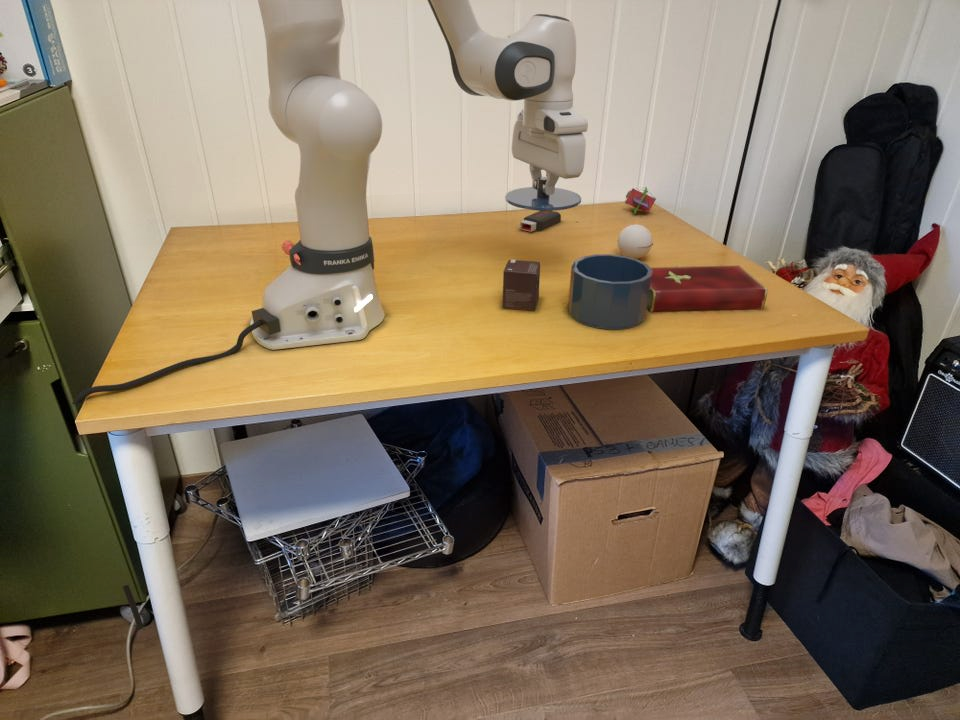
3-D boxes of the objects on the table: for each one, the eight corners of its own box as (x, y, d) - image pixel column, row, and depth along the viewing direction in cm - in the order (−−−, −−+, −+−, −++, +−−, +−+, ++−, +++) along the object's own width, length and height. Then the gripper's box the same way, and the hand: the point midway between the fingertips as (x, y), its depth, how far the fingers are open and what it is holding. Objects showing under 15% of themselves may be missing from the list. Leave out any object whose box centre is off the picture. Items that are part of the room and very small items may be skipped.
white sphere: (628, 266, 136) (632, 232, 132) (608, 254, 142) (612, 222, 138) (667, 260, 139) (672, 226, 136) (646, 248, 145) (651, 216, 141)
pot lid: (529, 218, 117) (530, 192, 115) (492, 197, 128) (492, 173, 126) (595, 207, 123) (598, 183, 120) (554, 189, 134) (555, 166, 132)
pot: (597, 336, 108) (603, 288, 104) (554, 305, 118) (557, 261, 114) (661, 320, 113) (669, 275, 109) (614, 292, 124) (619, 249, 120)
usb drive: (560, 221, 162) (561, 210, 160) (534, 233, 153) (535, 222, 152) (543, 217, 165) (543, 206, 163) (516, 229, 156) (517, 218, 155)
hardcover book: (763, 309, 117) (768, 288, 115) (650, 313, 116) (654, 291, 114) (735, 284, 128) (739, 264, 126) (631, 286, 126) (634, 266, 124)
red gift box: (659, 202, 170) (643, 176, 167) (662, 209, 164) (646, 183, 162) (634, 217, 173) (619, 192, 170) (636, 225, 167) (620, 199, 164)
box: (534, 312, 116) (537, 273, 112) (501, 308, 117) (502, 270, 113) (539, 298, 121) (541, 261, 117) (507, 295, 122) (508, 258, 118)
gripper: (504, 108, 124) (503, 180, 131) (563, 126, 108) (557, 207, 115) (533, 106, 127) (529, 177, 134) (594, 123, 111) (586, 203, 118)
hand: (543, 191), depth 124 cm, fingers closed on pot lid, 2 cm apart
